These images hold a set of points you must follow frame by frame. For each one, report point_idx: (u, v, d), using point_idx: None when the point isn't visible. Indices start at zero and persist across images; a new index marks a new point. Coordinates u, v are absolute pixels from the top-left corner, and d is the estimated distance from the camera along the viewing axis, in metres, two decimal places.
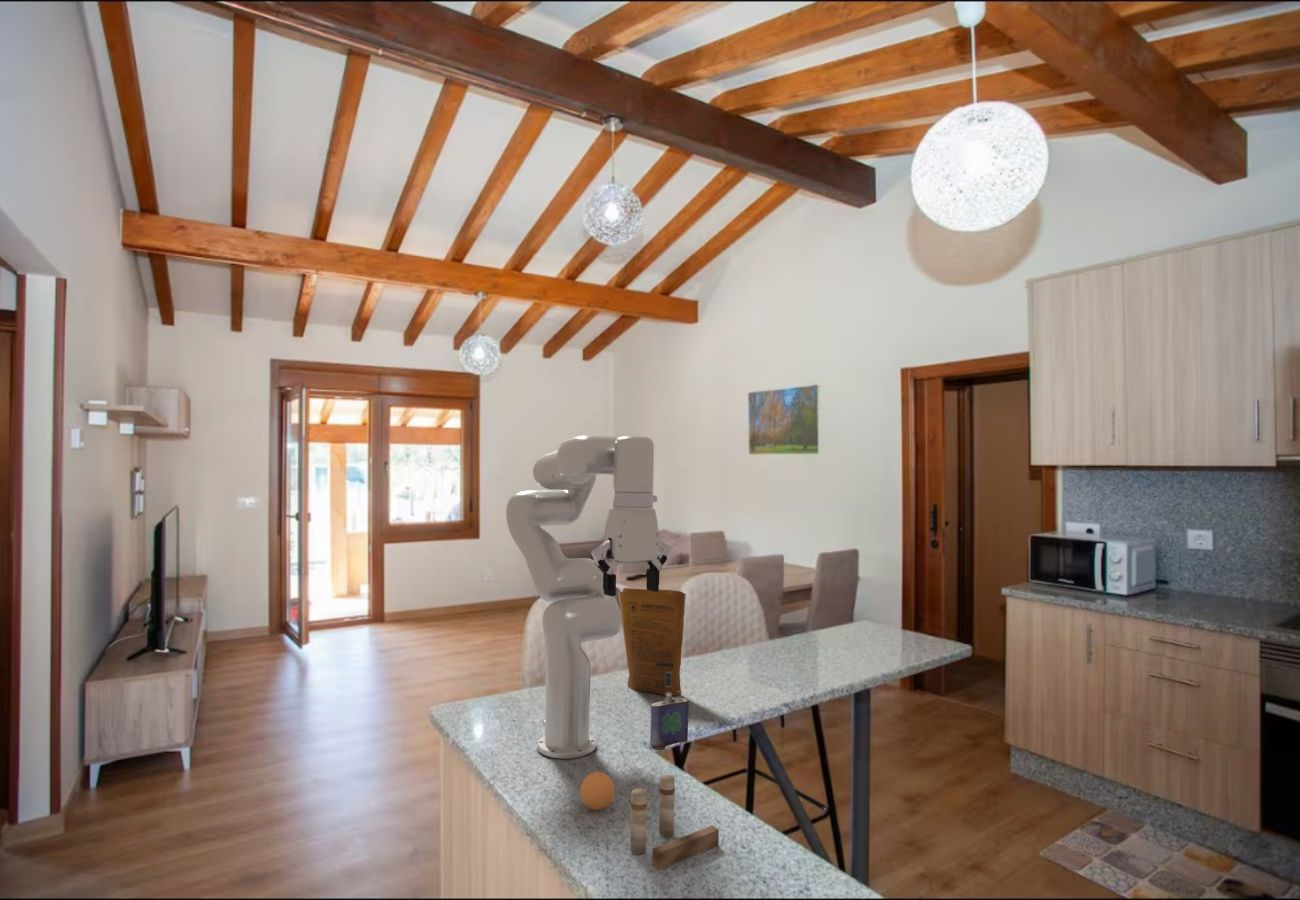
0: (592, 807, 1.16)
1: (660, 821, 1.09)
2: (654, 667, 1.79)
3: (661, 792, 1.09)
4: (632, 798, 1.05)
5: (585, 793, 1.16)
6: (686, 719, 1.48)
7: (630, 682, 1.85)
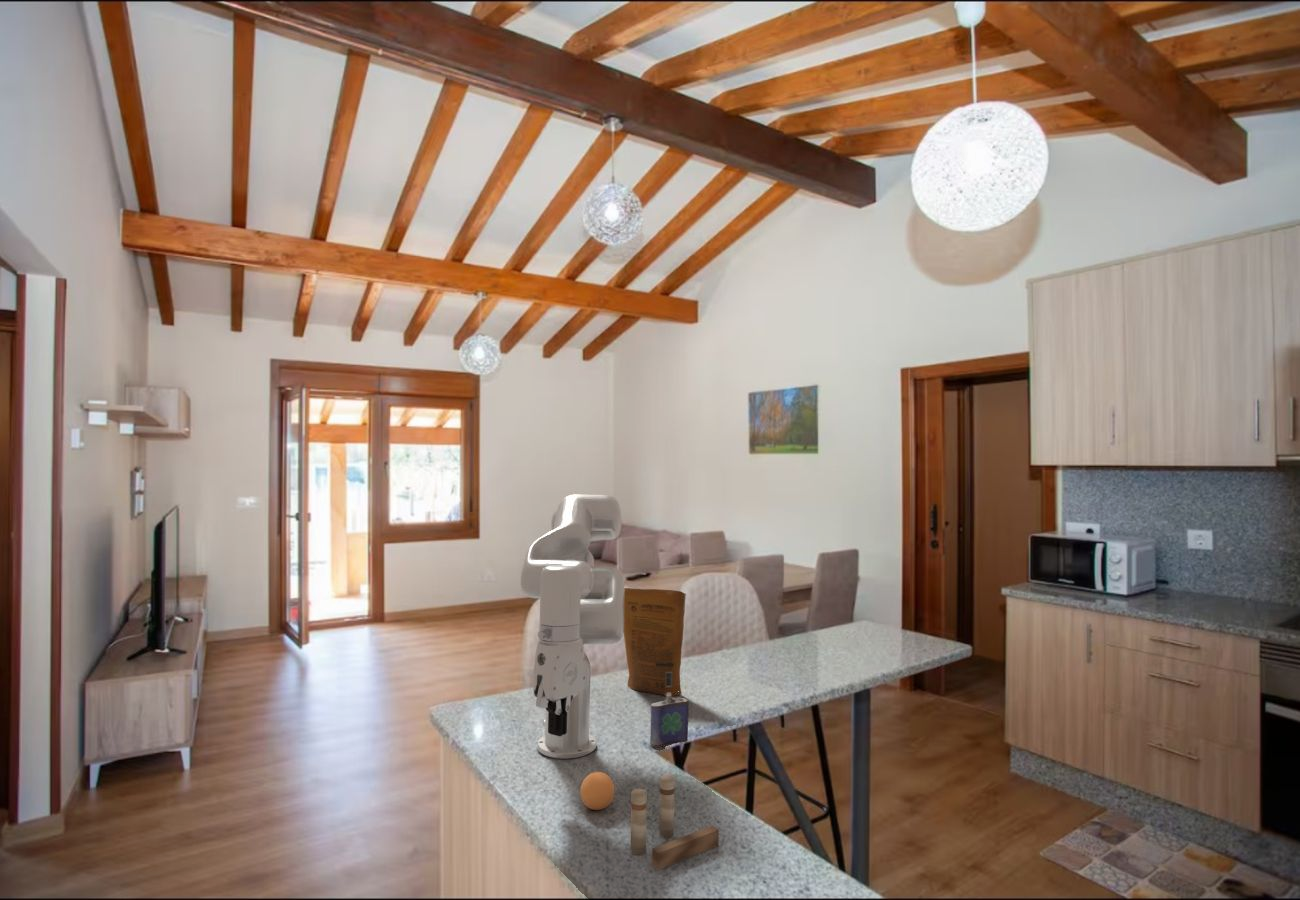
0: (592, 807, 1.16)
1: (660, 821, 1.09)
2: (654, 667, 1.79)
3: (661, 792, 1.09)
4: (632, 798, 1.05)
5: (585, 793, 1.16)
6: (686, 719, 1.48)
7: (630, 682, 1.85)
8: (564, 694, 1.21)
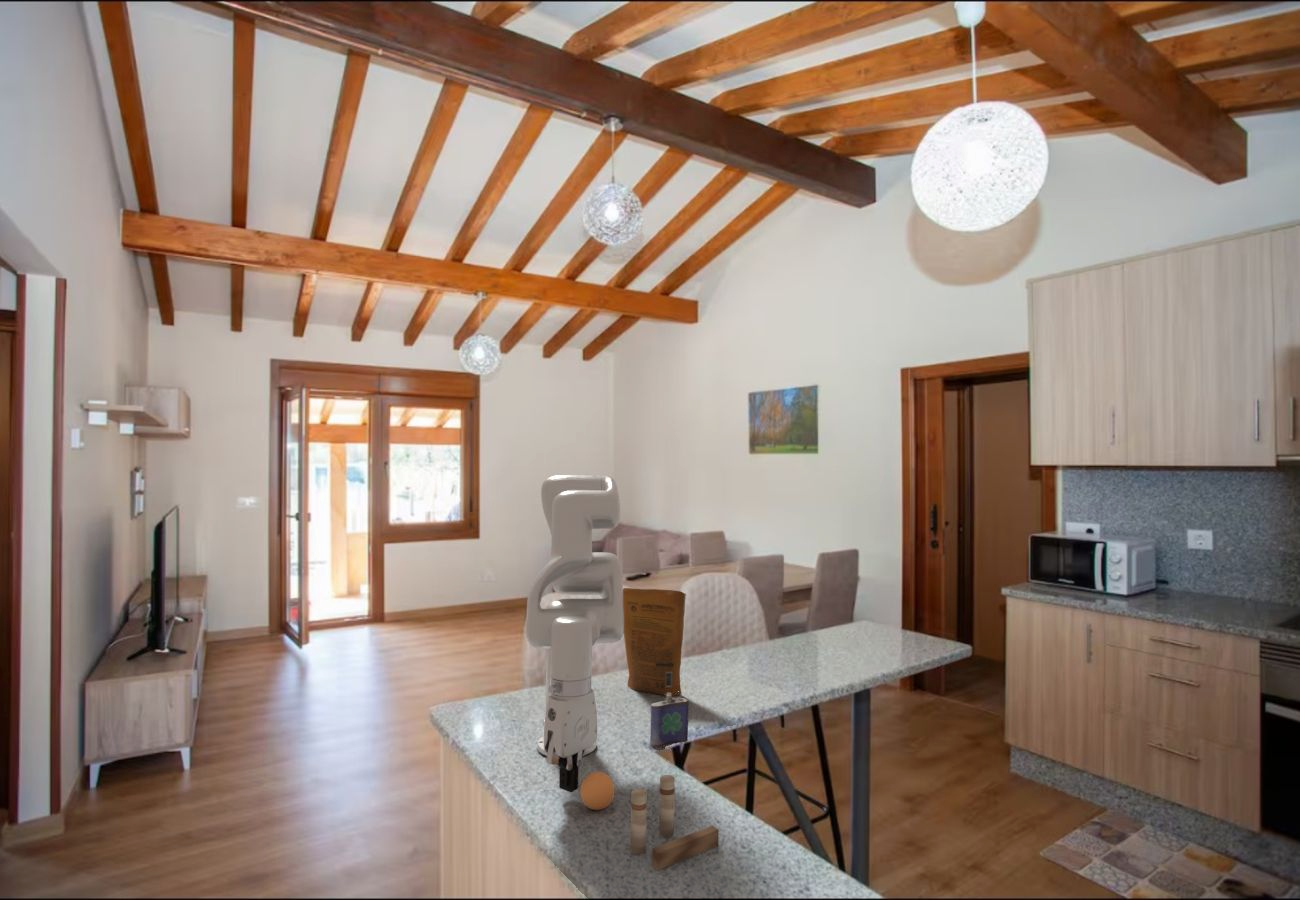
0: (592, 807, 1.16)
1: (660, 821, 1.09)
2: (654, 667, 1.79)
3: (661, 792, 1.09)
4: (632, 798, 1.05)
5: (585, 793, 1.16)
6: (686, 719, 1.48)
7: (630, 682, 1.85)
8: (575, 750, 1.18)
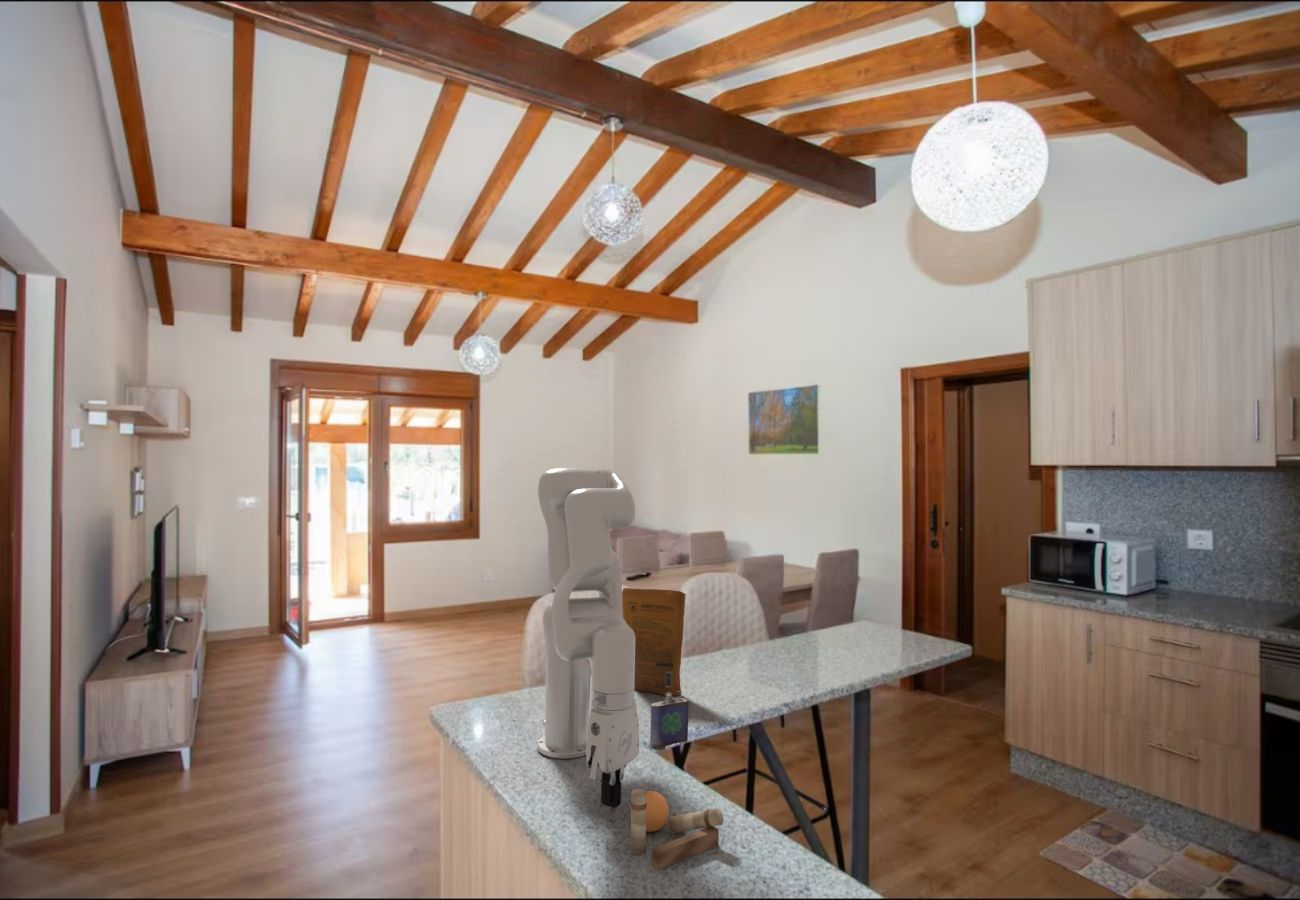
0: None
1: (681, 816, 1.10)
2: (654, 667, 1.79)
3: (705, 812, 1.07)
4: (632, 798, 1.05)
5: None
6: (686, 719, 1.48)
7: None
8: (619, 765, 1.14)
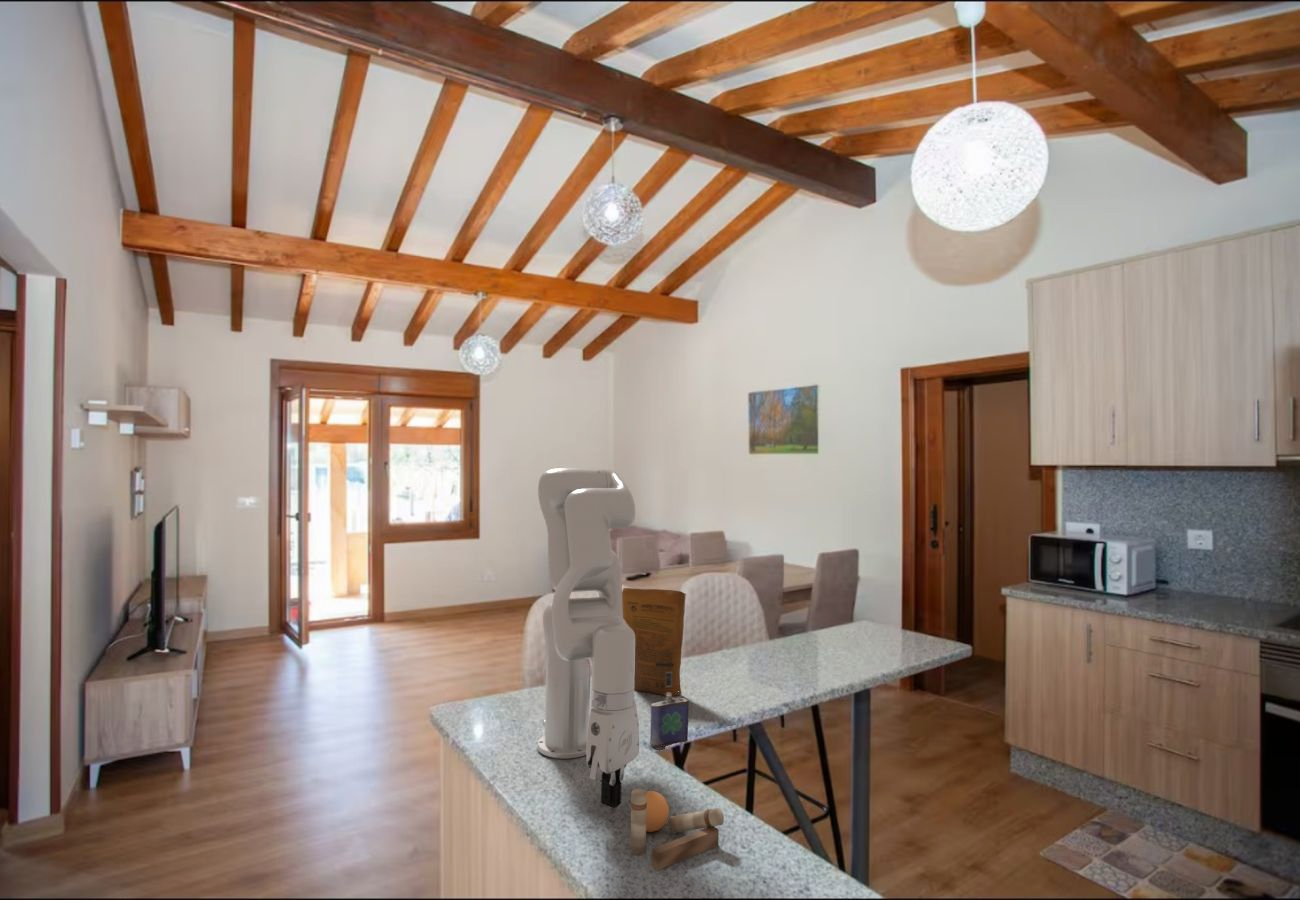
0: None
1: (681, 816, 1.10)
2: (654, 667, 1.79)
3: (705, 812, 1.07)
4: (632, 798, 1.05)
5: None
6: (686, 719, 1.48)
7: None
8: (619, 765, 1.14)
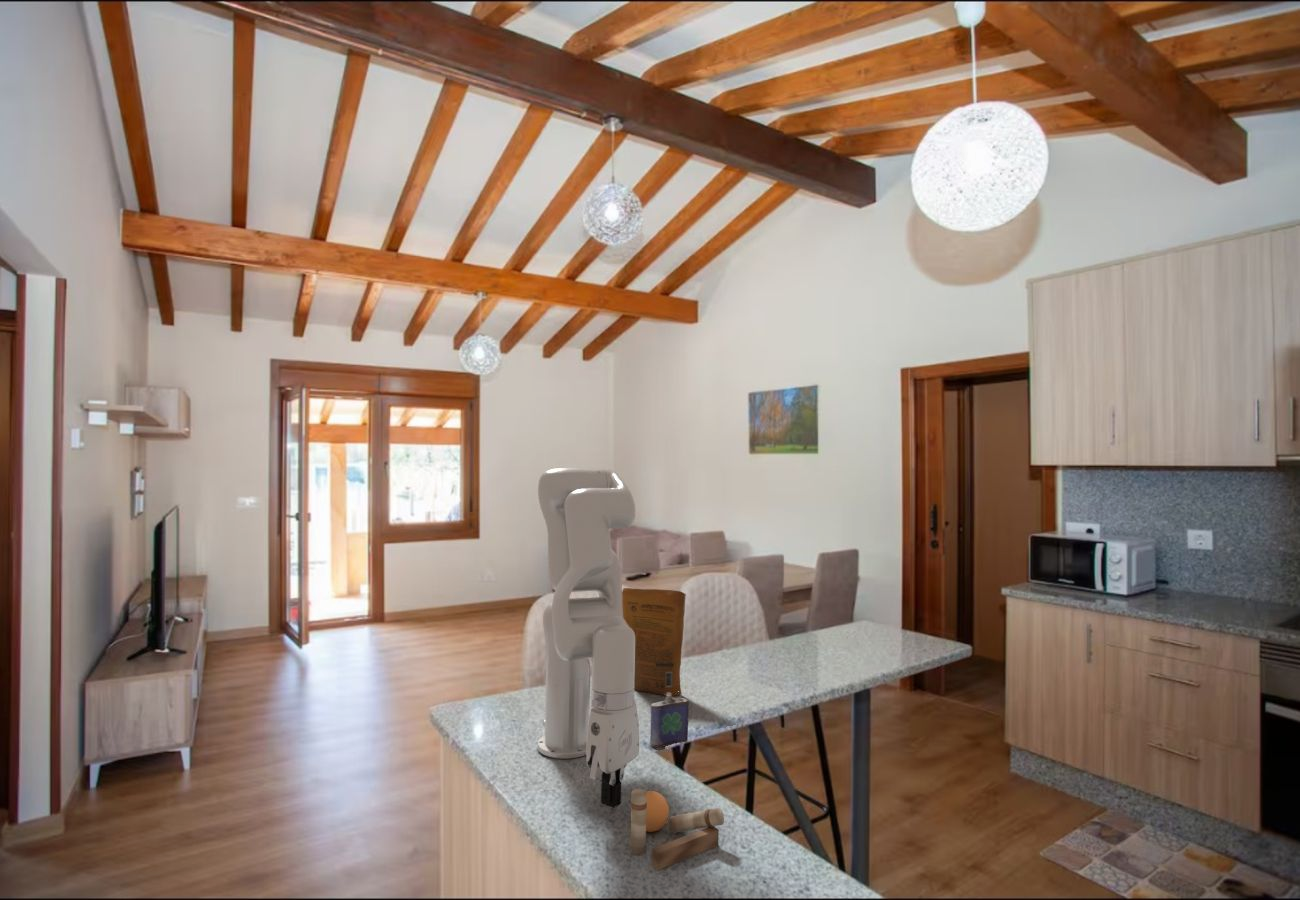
0: None
1: (681, 815, 1.10)
2: (654, 667, 1.79)
3: (705, 812, 1.08)
4: (632, 798, 1.05)
5: None
6: (686, 719, 1.48)
7: None
8: (619, 765, 1.14)
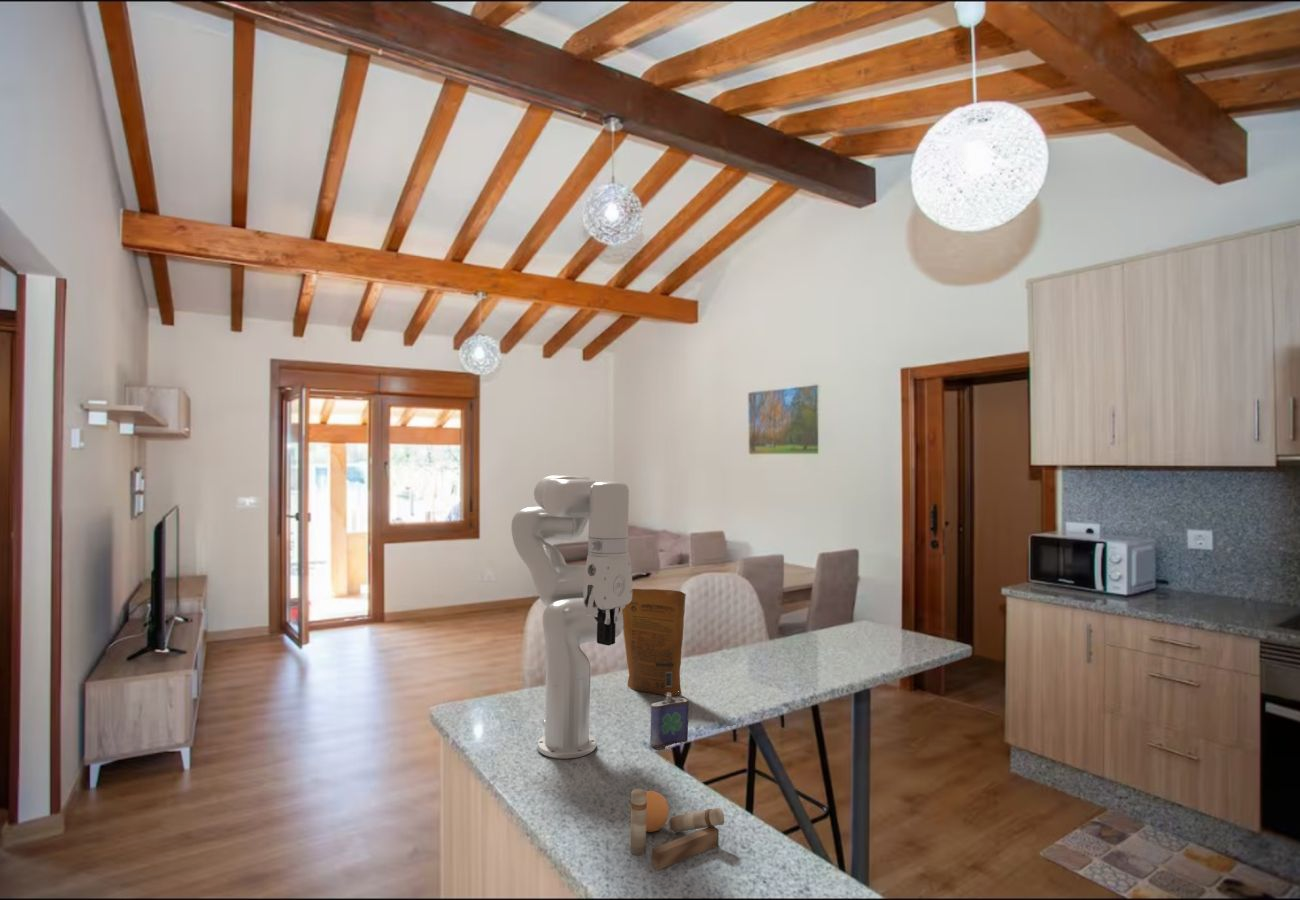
0: None
1: (682, 815, 1.10)
2: (654, 667, 1.79)
3: (706, 811, 1.08)
4: (632, 798, 1.05)
5: None
6: (686, 719, 1.48)
7: (630, 682, 1.85)
8: (613, 604, 1.24)
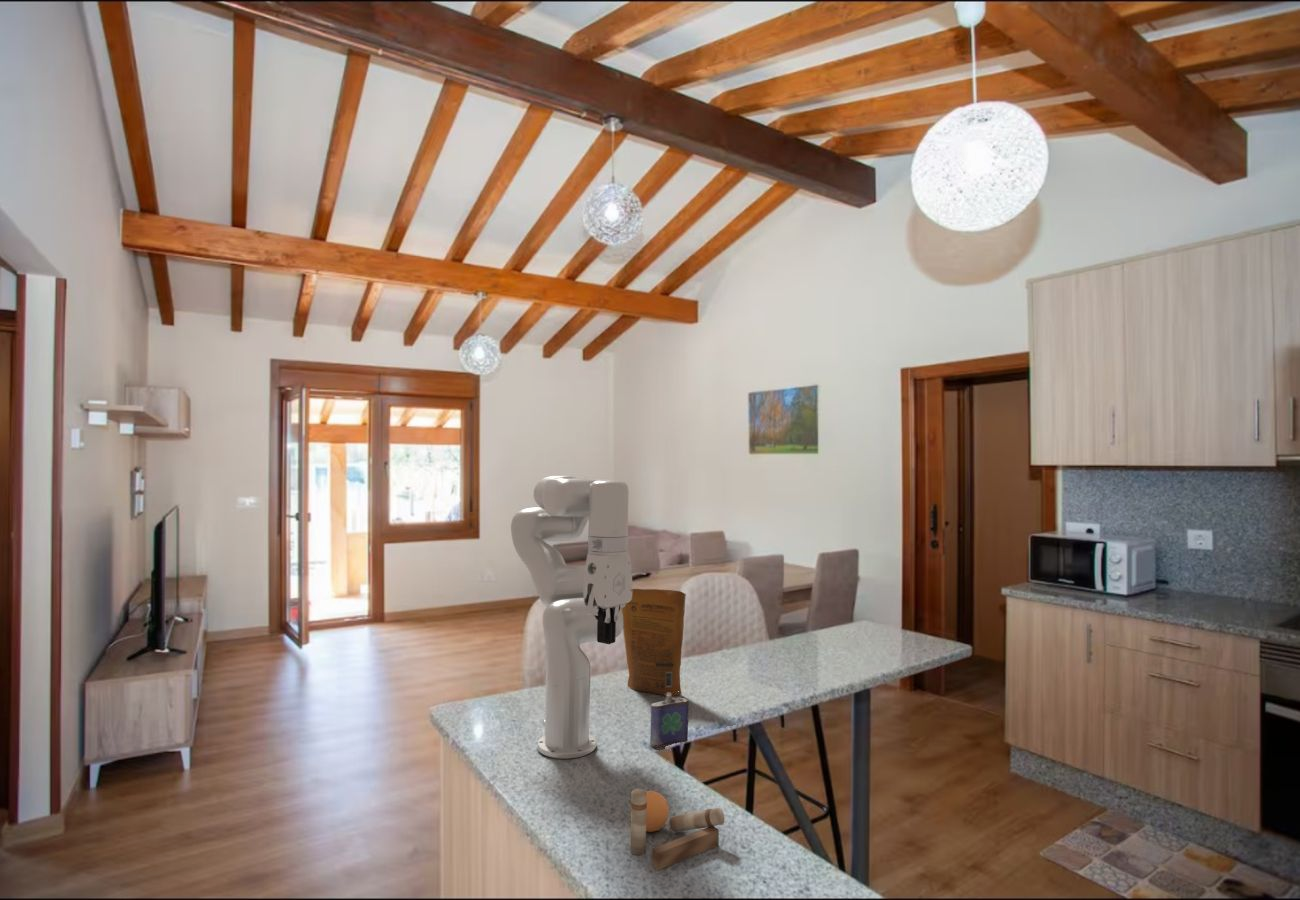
0: None
1: (682, 815, 1.10)
2: (654, 667, 1.79)
3: (706, 811, 1.08)
4: (632, 798, 1.05)
5: None
6: (686, 719, 1.48)
7: (630, 682, 1.85)
8: (613, 603, 1.24)
